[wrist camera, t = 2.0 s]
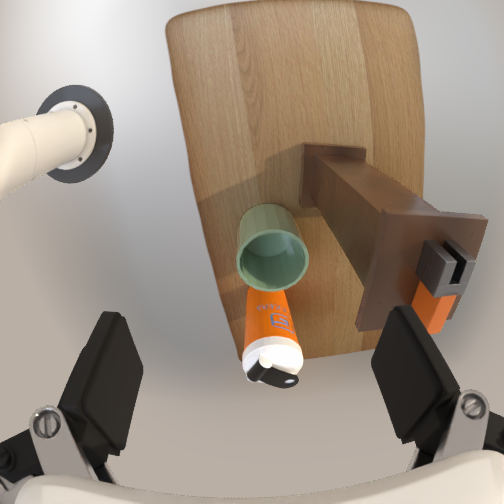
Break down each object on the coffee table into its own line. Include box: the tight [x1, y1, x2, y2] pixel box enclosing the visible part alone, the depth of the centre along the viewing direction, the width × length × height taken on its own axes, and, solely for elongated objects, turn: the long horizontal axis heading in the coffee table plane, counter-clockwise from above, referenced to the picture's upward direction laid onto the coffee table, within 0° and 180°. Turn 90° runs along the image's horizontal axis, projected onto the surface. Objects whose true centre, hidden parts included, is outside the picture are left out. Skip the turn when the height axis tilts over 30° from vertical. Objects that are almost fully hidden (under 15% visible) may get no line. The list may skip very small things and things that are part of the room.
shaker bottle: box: [242, 286, 303, 388], centre depth 47 cm, size 9×9×20 cm
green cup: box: [236, 203, 309, 292], centre depth 45 cm, size 10×10×10 cm
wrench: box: [411, 240, 476, 334], centre depth 18 cm, size 6×3×3 cm, turn 0°
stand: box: [299, 143, 488, 332], centre depth 32 cm, size 10×10×29 cm
